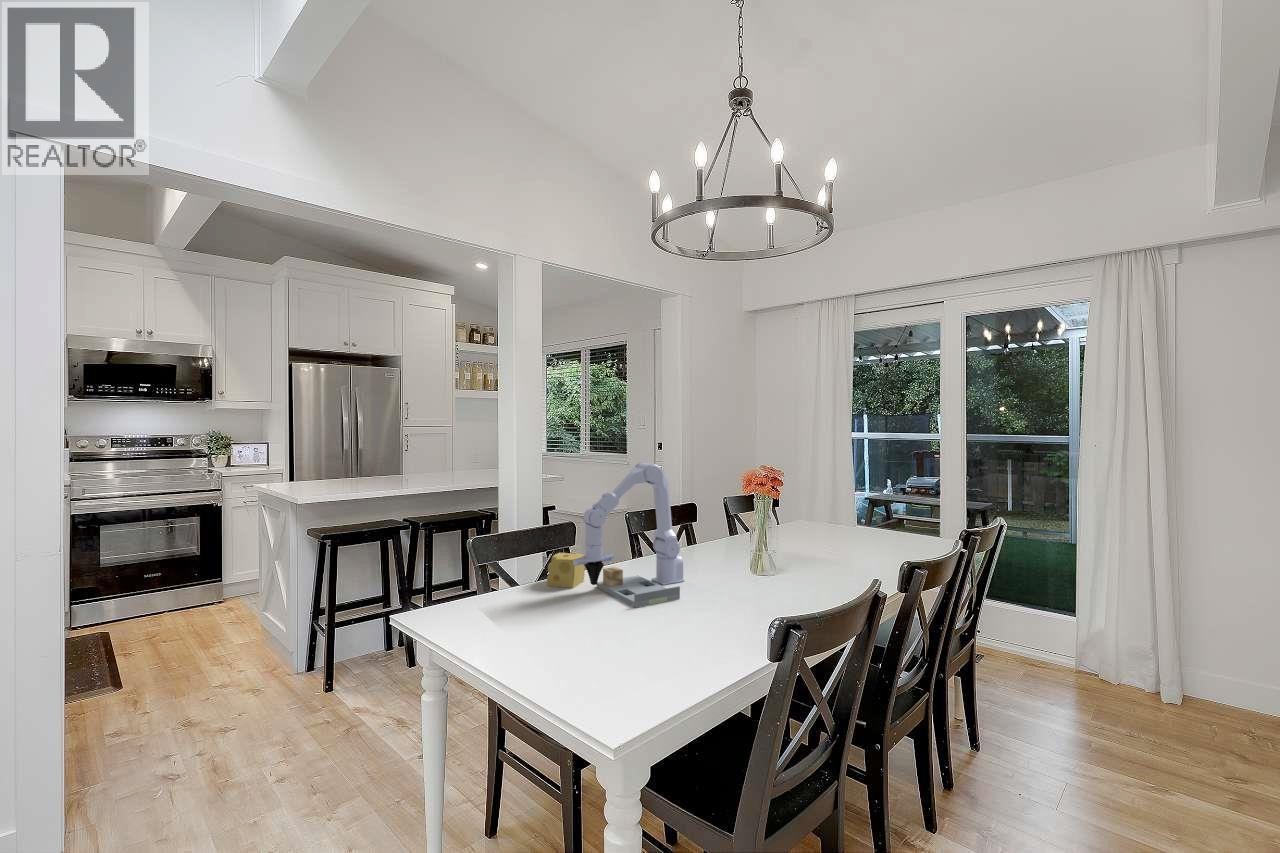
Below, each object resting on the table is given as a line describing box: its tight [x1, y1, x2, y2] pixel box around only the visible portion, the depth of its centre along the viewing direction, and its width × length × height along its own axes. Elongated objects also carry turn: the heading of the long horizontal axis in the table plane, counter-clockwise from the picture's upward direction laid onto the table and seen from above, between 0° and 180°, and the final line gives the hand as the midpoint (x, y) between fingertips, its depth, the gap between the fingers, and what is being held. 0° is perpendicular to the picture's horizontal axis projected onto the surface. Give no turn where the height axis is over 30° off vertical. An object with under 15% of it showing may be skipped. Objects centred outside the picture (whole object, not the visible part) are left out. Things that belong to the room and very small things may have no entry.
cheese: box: [546, 552, 586, 589], centre depth 210 cm, size 10×11×10 cm
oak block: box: [602, 566, 624, 587], centre depth 204 cm, size 5×5×5 cm
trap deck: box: [596, 575, 681, 608], centre depth 199 cm, size 17×26×4 cm, turn 32°
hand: (593, 584), depth 200 cm, fingers closed
